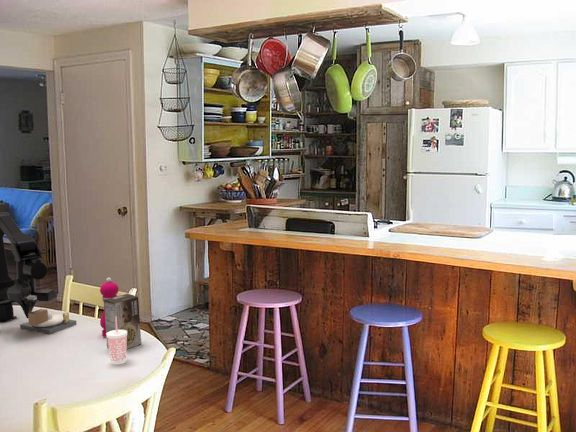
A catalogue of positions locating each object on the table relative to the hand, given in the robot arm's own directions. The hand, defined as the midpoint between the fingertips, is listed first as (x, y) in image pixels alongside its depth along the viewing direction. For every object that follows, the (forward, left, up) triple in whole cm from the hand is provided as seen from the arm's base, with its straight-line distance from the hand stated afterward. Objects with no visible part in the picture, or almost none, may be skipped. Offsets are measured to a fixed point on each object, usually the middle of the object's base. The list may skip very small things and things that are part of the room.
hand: (28, 318), depth 212 cm
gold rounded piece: (+9, +9, -3) cm, 13 cm away
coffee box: (+42, +3, -5) cm, 42 cm away
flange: (+2, +6, -3) cm, 7 cm away
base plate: (+2, +7, -5) cm, 8 cm away
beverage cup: (+50, -8, -5) cm, 51 cm away
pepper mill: (+30, +10, -5) cm, 32 cm away
